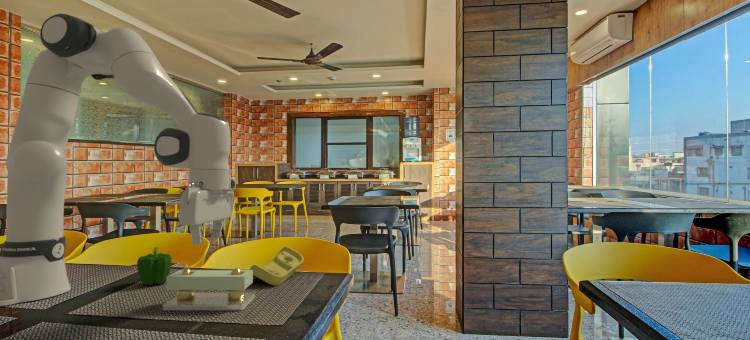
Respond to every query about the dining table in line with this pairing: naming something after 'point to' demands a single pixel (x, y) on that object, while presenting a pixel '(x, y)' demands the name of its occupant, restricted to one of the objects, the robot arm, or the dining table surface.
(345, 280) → the dining table surface
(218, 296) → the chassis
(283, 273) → the plastic component
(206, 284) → the board
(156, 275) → the bell pepper
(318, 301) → the dining table surface
